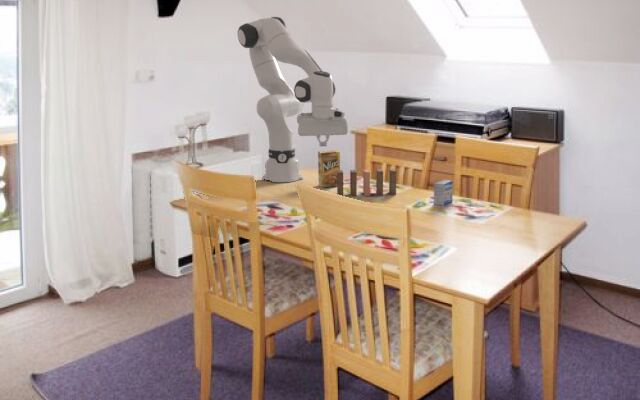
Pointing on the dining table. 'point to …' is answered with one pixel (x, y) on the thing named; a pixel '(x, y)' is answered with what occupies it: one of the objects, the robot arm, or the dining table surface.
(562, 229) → the dining table surface
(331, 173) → the candy box
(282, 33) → the robot arm
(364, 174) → the domino
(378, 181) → the domino
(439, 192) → the medicine box
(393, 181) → the domino
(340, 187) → the domino
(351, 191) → the domino
